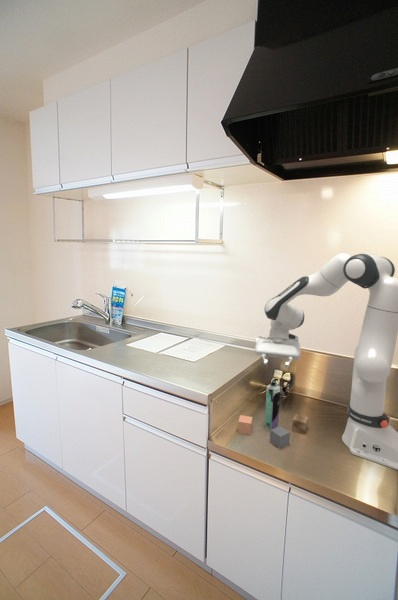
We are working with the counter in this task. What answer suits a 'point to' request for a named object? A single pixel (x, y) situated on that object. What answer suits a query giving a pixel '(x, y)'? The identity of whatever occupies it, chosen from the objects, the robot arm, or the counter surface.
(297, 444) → the counter surface
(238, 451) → the counter surface
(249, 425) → the terracotta block
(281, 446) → the charcoal block
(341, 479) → the counter surface
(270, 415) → the spray can
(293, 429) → the walnut block
